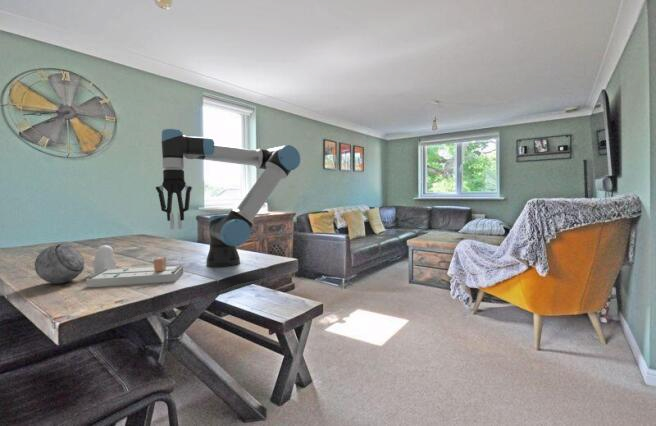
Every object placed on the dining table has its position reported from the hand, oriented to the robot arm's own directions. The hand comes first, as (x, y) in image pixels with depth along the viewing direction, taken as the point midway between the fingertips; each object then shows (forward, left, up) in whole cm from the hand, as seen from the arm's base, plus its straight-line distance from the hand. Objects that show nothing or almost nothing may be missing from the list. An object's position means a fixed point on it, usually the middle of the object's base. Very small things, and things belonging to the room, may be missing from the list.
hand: (176, 228), depth 131 cm
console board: (+15, 0, -19) cm, 24 cm away
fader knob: (+6, 0, -16) cm, 17 cm away
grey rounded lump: (+43, -3, -20) cm, 47 cm away
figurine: (+33, -15, -20) cm, 41 cm away
